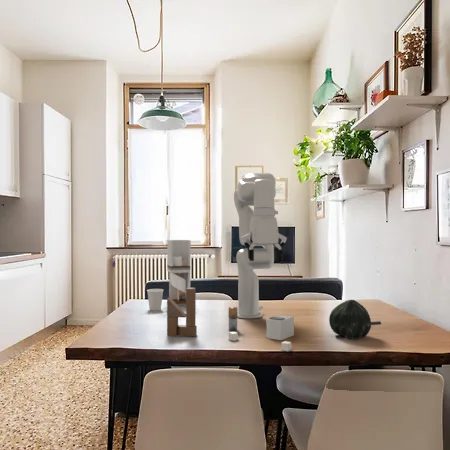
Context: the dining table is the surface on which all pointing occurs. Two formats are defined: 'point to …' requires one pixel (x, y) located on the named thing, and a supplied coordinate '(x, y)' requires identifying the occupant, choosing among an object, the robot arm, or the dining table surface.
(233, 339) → the rounded white cube
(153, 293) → the dixie cup
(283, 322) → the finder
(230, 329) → the peg
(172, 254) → the display case
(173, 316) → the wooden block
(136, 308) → the dining table surface
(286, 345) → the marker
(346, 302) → the squash
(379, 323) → the bracket
